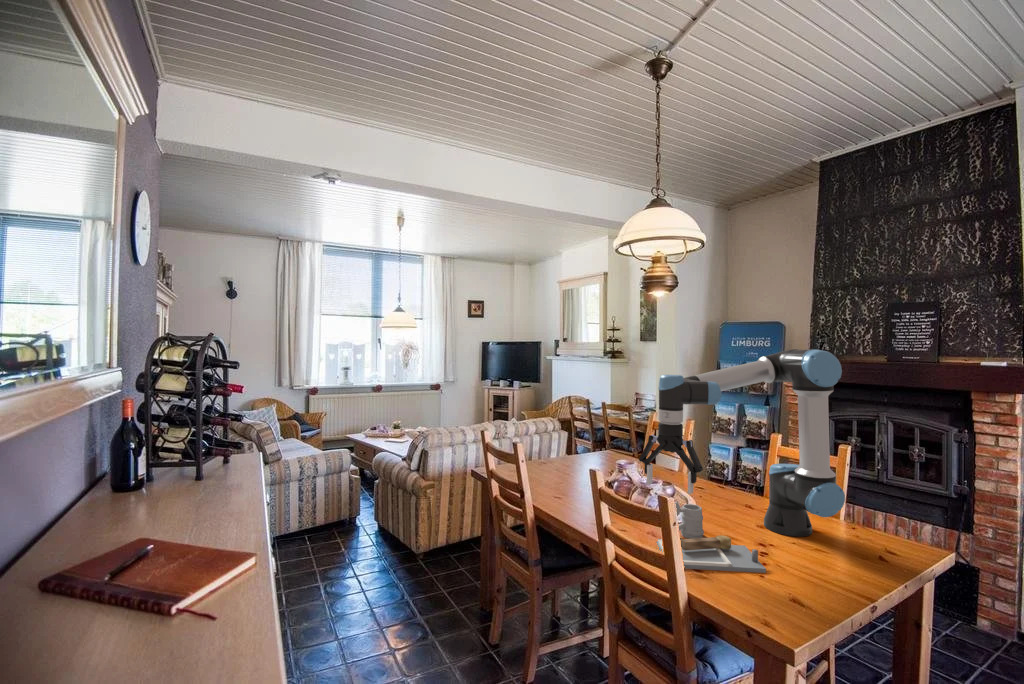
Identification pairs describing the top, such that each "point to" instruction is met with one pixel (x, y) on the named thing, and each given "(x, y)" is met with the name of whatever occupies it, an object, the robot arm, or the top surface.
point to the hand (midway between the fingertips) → (669, 488)
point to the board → (722, 559)
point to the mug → (690, 521)
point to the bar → (706, 543)
